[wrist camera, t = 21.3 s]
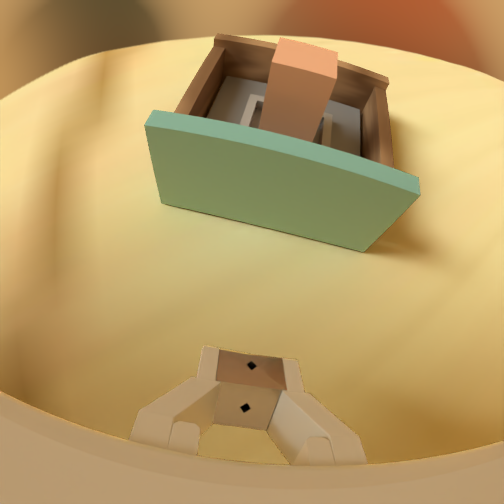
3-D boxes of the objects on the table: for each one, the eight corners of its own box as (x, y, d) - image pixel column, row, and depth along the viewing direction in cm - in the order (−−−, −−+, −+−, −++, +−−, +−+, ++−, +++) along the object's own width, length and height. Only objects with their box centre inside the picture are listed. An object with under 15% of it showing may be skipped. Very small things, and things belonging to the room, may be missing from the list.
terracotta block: (255, 145, 27) (271, 61, 19) (263, 116, 29) (280, 37, 21) (305, 158, 27) (336, 79, 19) (310, 128, 29) (337, 52, 21)
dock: (163, 185, 26) (154, 138, 21) (215, 76, 33) (217, 33, 27) (368, 235, 27) (402, 200, 21) (368, 115, 33) (388, 77, 28)
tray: (161, 203, 26) (144, 125, 17) (215, 83, 32) (219, 14, 24) (363, 252, 26) (420, 195, 18) (365, 121, 32) (396, 60, 24)
